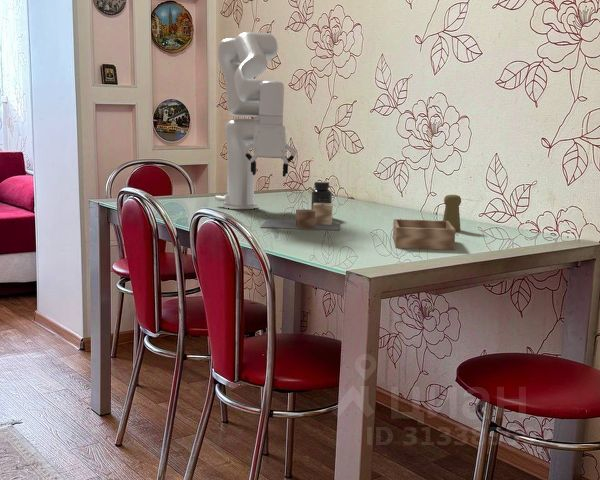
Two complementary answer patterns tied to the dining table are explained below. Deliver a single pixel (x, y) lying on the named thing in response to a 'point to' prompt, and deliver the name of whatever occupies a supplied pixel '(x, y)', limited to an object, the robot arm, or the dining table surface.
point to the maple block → (323, 213)
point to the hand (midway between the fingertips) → (269, 175)
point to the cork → (452, 211)
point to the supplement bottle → (321, 193)
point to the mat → (292, 225)
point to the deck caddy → (423, 234)
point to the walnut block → (305, 218)
